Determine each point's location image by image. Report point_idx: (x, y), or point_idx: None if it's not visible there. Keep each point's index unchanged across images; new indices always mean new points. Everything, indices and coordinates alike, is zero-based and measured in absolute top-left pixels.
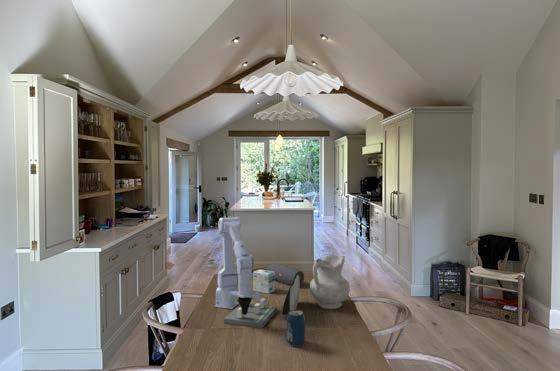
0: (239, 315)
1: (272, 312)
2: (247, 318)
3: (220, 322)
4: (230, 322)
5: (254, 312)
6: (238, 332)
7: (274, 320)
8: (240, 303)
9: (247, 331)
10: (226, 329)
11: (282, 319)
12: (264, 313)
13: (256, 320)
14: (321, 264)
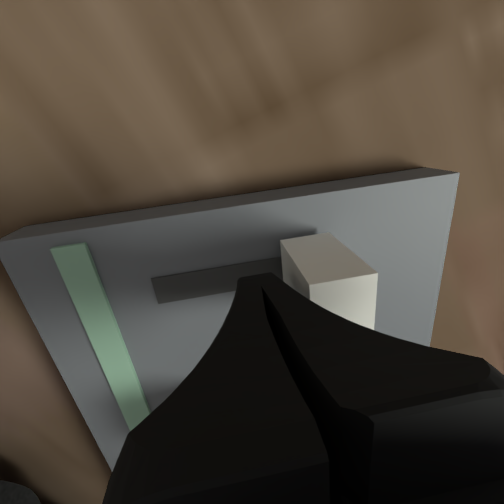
0: (308, 248)
1: (113, 466)
2: (224, 277)
3: (454, 166)
4: (364, 178)
5: None
6: (177, 2)
7: (55, 393)
8: (370, 345)
9: (103, 79)
10: (342, 28)
11: (14, 431)
12: None
13: (109, 279)
14: None
